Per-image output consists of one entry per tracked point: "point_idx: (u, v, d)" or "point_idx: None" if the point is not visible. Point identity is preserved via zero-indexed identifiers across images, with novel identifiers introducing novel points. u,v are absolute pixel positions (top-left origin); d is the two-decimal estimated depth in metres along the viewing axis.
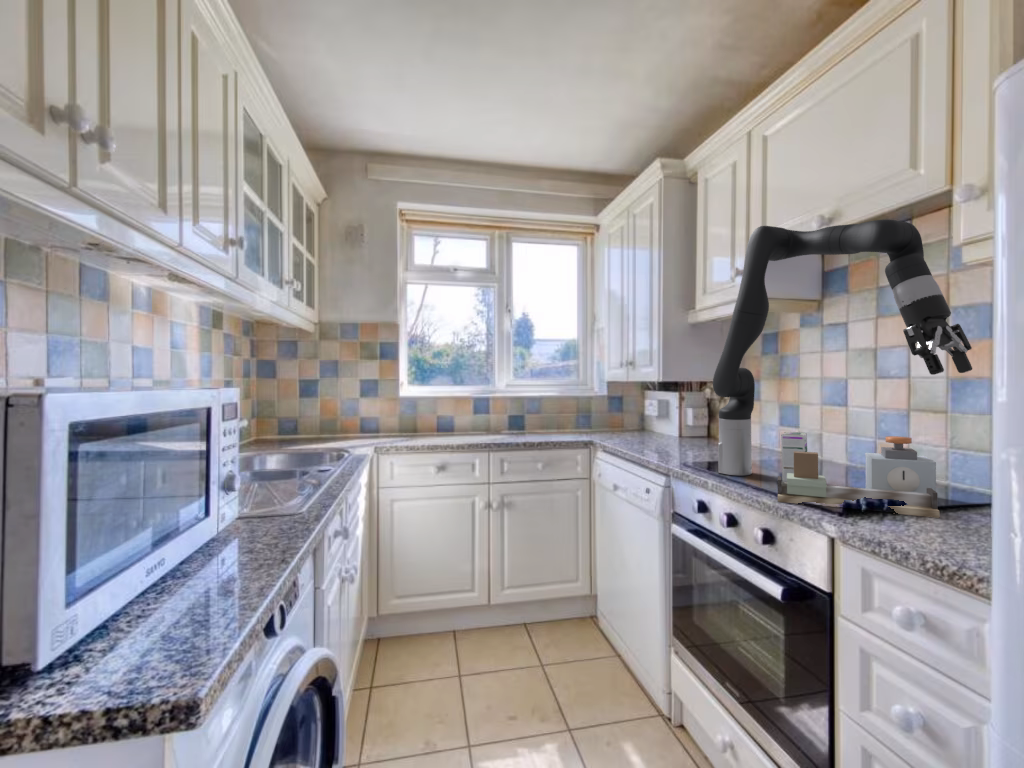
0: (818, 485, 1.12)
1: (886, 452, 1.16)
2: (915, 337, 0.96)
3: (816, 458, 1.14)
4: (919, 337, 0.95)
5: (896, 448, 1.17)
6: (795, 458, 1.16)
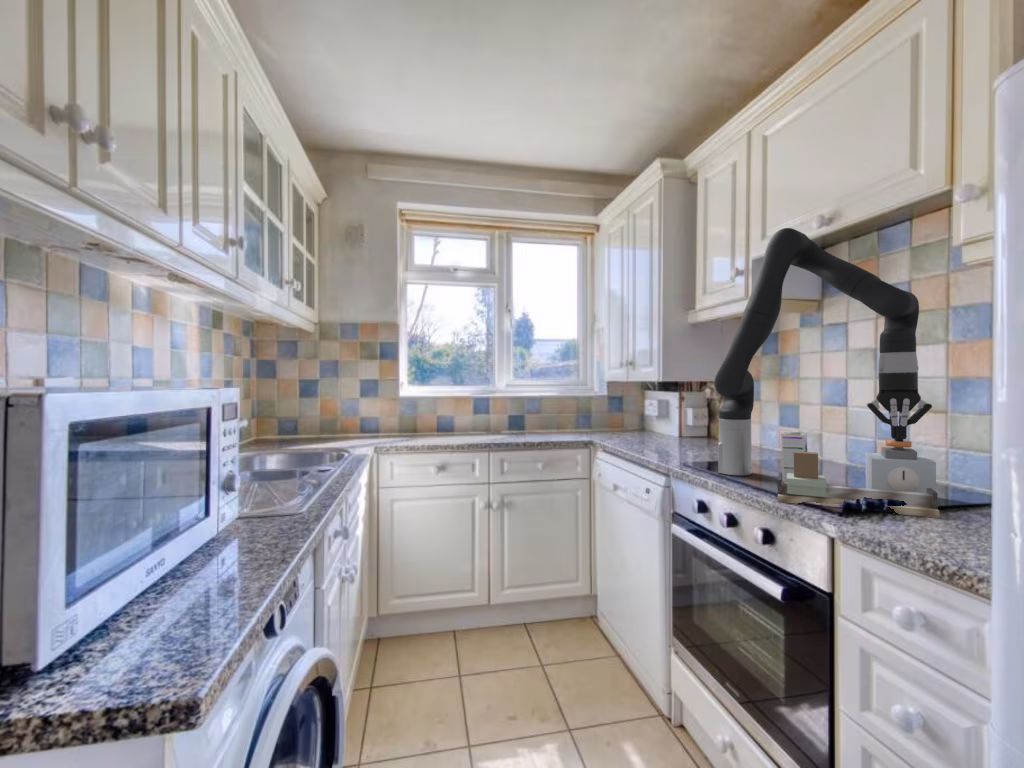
0: (818, 485, 1.12)
1: (886, 452, 1.16)
2: (874, 413, 1.19)
3: (816, 458, 1.14)
4: (875, 414, 1.18)
5: None
6: (795, 458, 1.16)
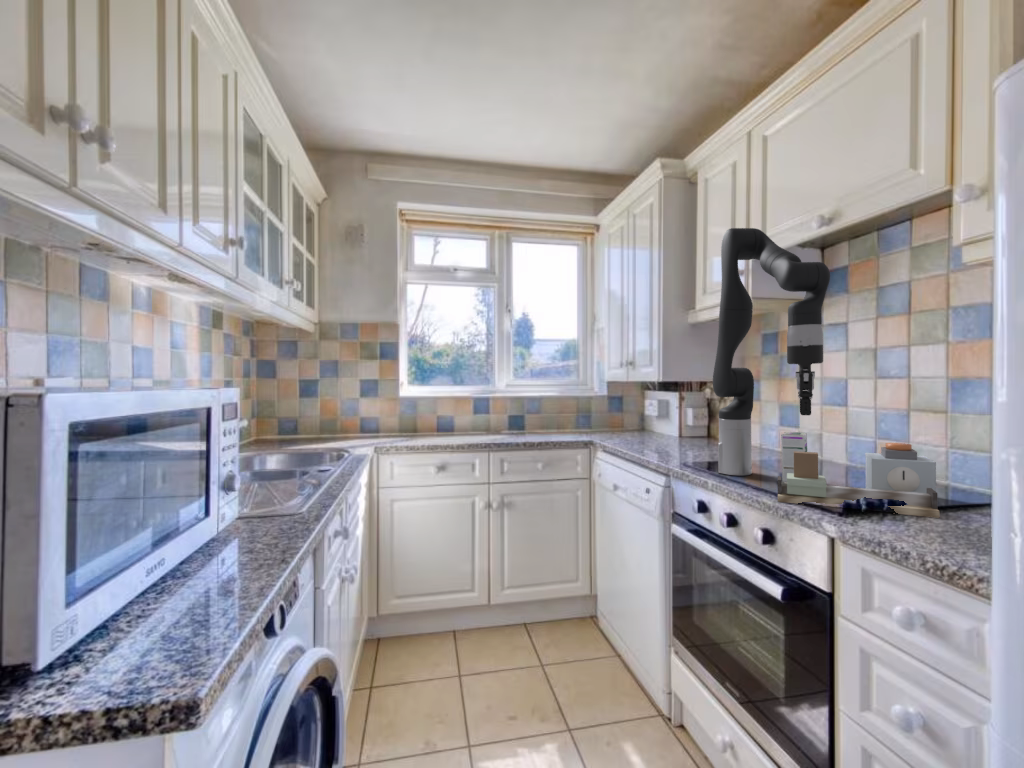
0: (818, 485, 1.12)
1: (886, 452, 1.16)
2: (808, 384, 1.10)
3: (816, 458, 1.14)
4: (812, 385, 1.10)
5: None
6: (795, 458, 1.16)
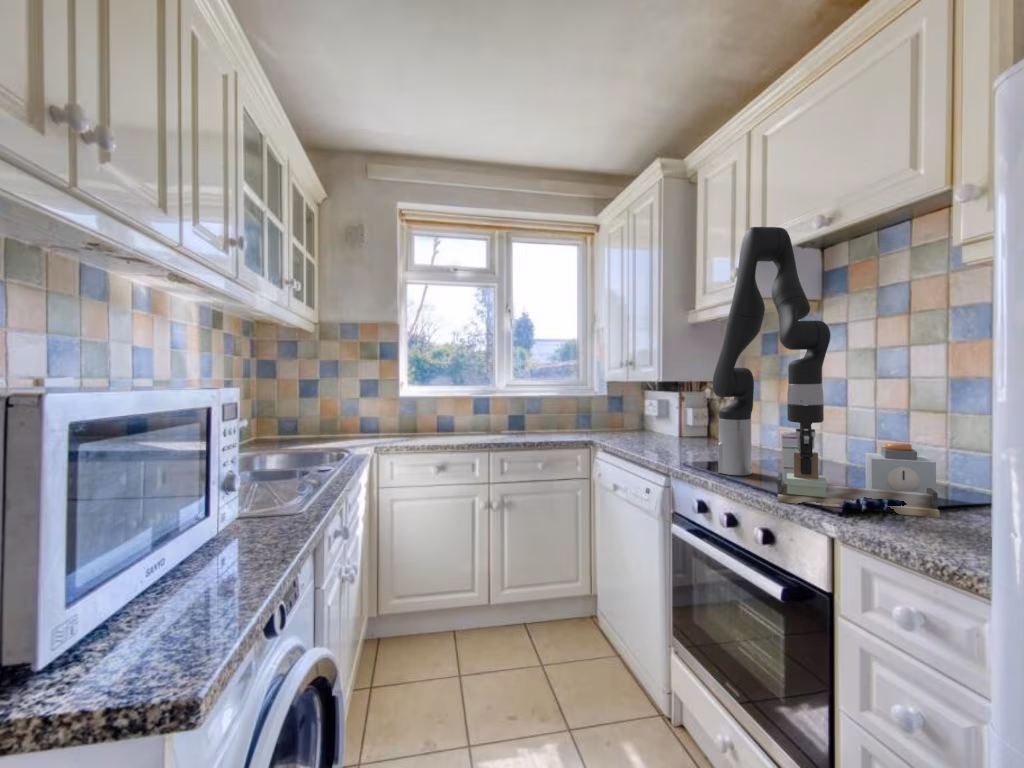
0: (818, 485, 1.12)
1: (886, 452, 1.16)
2: (809, 447, 1.11)
3: (816, 458, 1.14)
4: (812, 448, 1.10)
5: None
6: (795, 458, 1.16)
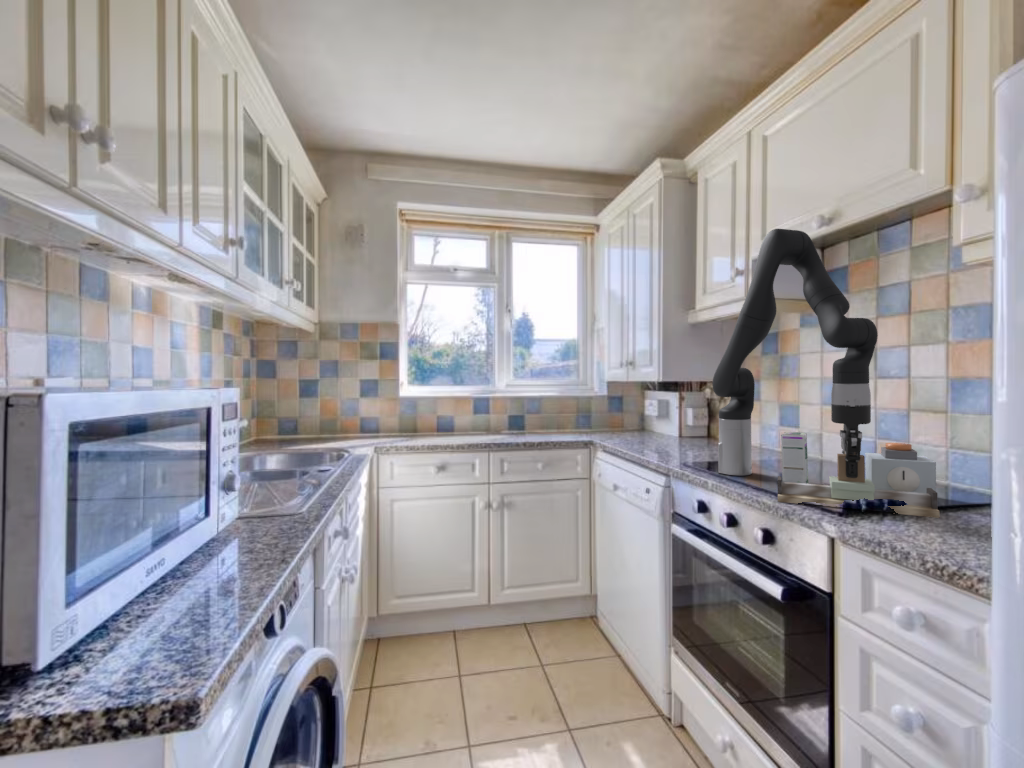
0: (865, 489, 1.07)
1: (886, 452, 1.16)
2: (856, 449, 1.06)
3: (862, 461, 1.09)
4: (860, 450, 1.06)
5: None
6: (840, 461, 1.11)
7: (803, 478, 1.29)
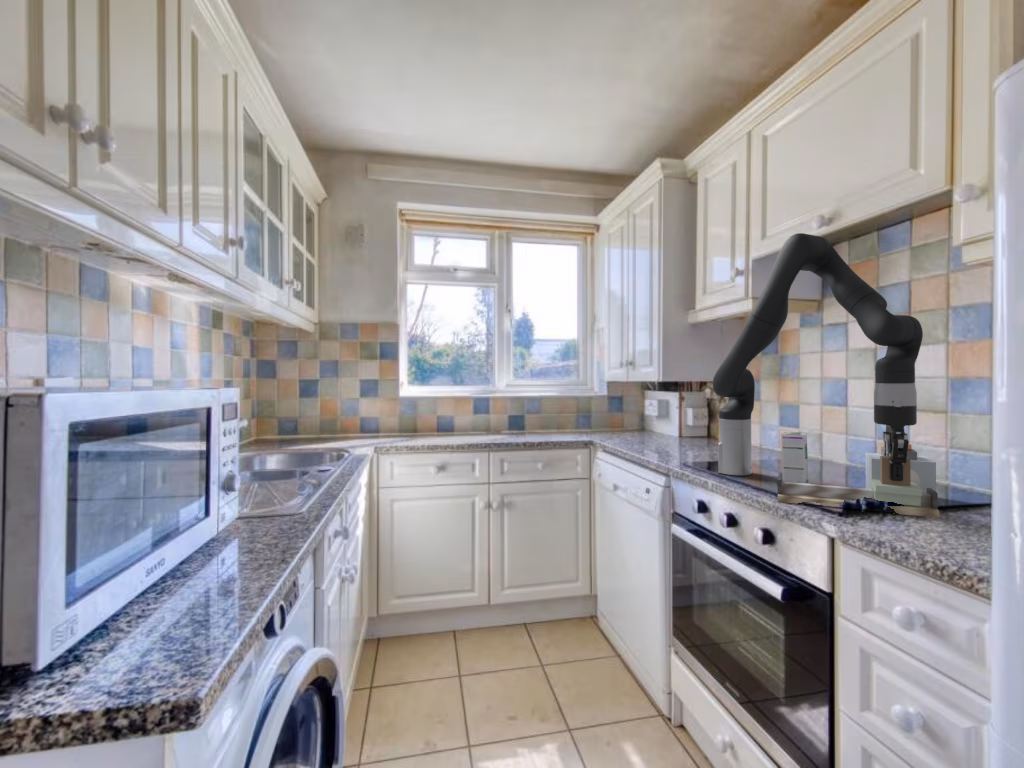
0: (912, 493, 1.03)
1: None
2: (903, 451, 1.02)
3: (908, 463, 1.05)
4: None
5: None
6: (883, 463, 1.07)
7: (803, 478, 1.29)
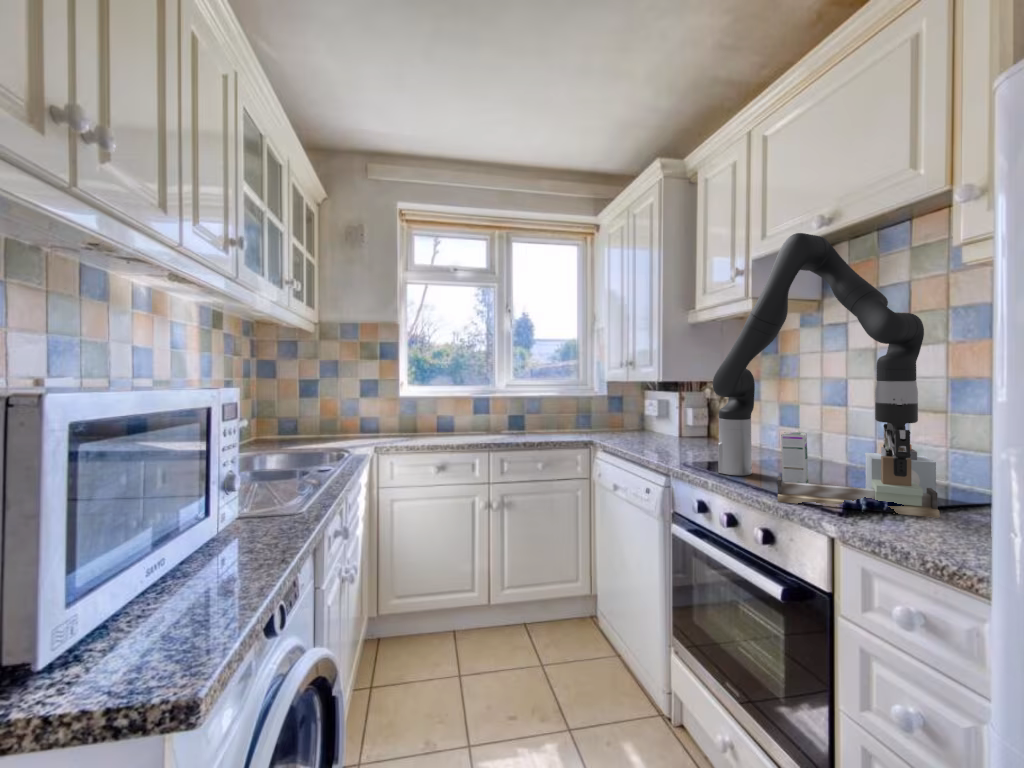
0: (913, 493, 1.03)
1: (886, 452, 1.16)
2: (905, 442, 1.01)
3: (909, 464, 1.05)
4: None
5: None
6: (884, 463, 1.07)
7: (803, 478, 1.29)
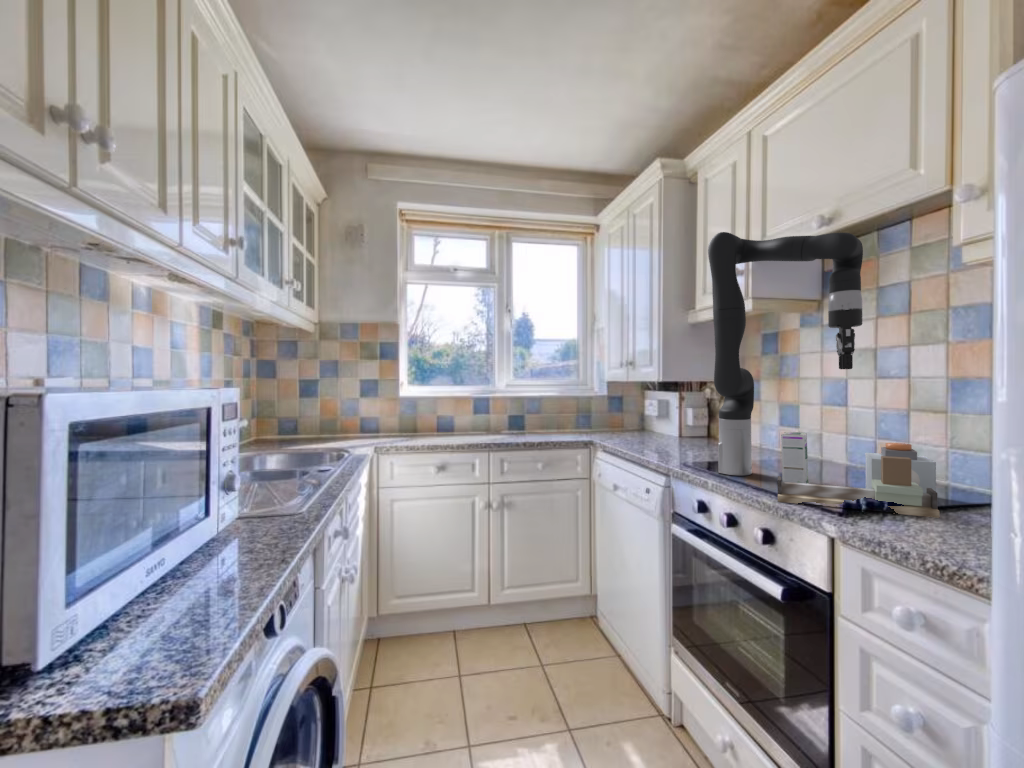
0: (913, 493, 1.03)
1: (886, 452, 1.16)
2: (850, 339, 1.21)
3: (909, 464, 1.05)
4: (854, 339, 1.21)
5: None
6: (884, 463, 1.07)
7: (803, 478, 1.29)
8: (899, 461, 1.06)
